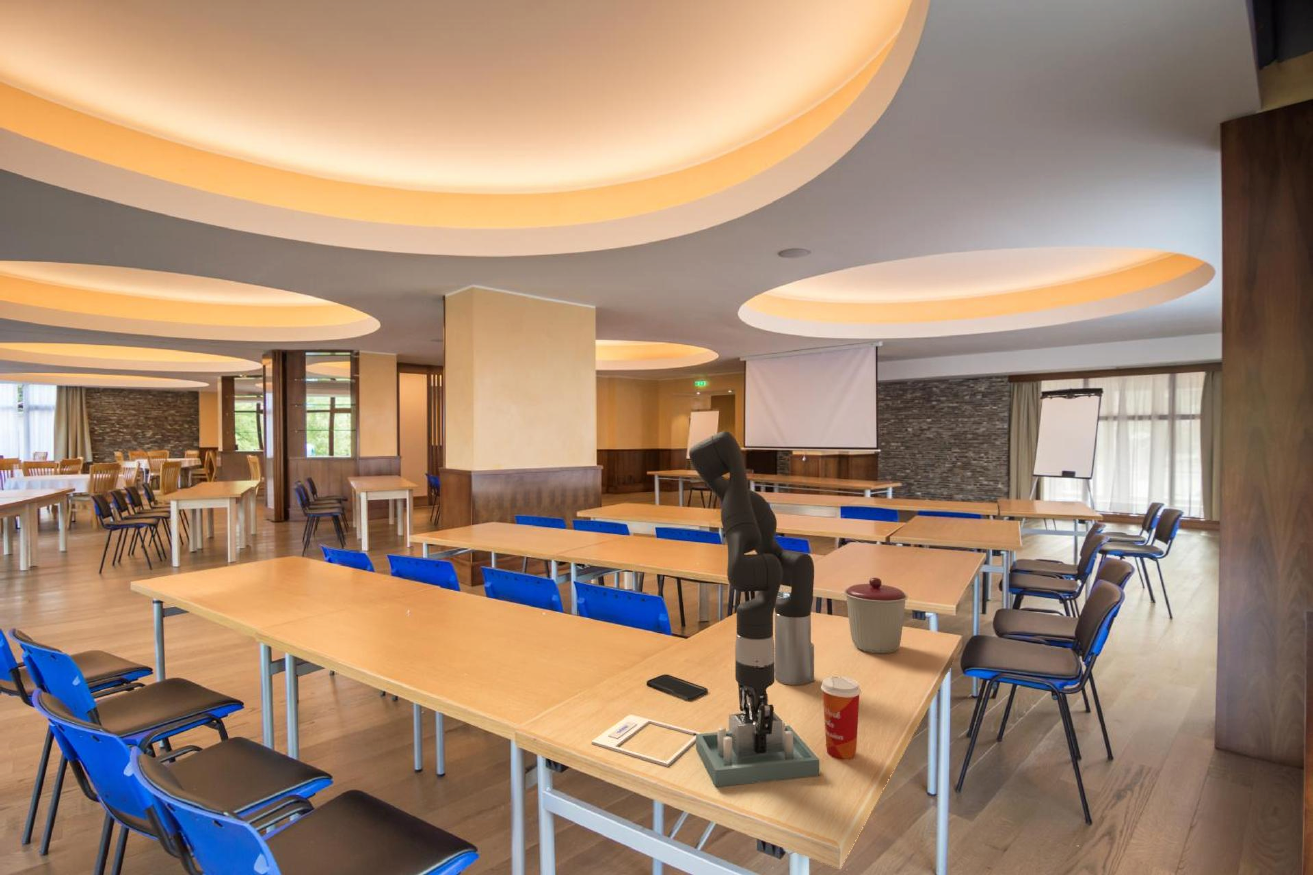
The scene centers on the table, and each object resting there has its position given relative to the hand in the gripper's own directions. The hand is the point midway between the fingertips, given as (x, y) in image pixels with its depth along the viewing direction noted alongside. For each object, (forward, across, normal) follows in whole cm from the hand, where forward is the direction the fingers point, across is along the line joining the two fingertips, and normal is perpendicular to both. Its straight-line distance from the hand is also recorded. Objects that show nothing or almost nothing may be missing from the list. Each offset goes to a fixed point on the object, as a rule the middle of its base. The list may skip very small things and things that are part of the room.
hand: (755, 744), depth 121 cm
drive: (+1, 0, 0) cm, 1 cm away
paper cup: (+4, 0, +18) cm, 18 cm away
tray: (+3, 0, 0) cm, 3 cm away
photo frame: (+4, -13, -19) cm, 23 cm away
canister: (+4, -56, +58) cm, 81 cm away
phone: (+4, -38, -7) cm, 39 cm away
